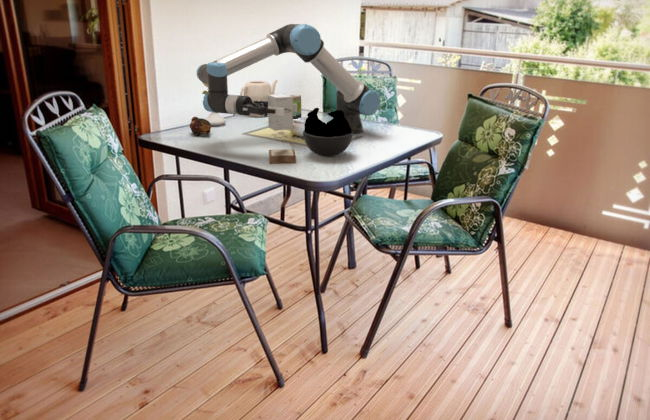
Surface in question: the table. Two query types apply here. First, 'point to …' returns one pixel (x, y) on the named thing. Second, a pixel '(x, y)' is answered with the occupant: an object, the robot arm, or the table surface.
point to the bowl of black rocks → (327, 133)
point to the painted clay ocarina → (200, 126)
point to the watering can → (258, 92)
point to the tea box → (297, 100)
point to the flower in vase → (214, 115)
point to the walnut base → (282, 156)
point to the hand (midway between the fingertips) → (290, 109)
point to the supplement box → (286, 120)
